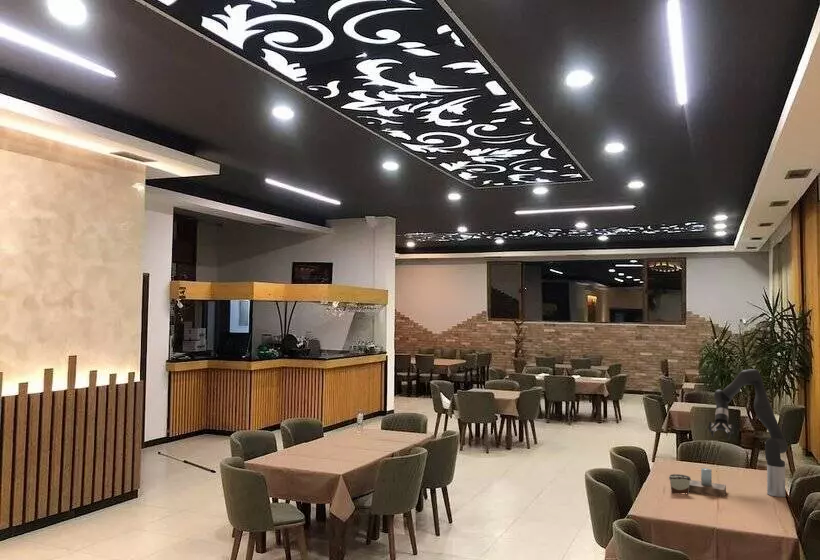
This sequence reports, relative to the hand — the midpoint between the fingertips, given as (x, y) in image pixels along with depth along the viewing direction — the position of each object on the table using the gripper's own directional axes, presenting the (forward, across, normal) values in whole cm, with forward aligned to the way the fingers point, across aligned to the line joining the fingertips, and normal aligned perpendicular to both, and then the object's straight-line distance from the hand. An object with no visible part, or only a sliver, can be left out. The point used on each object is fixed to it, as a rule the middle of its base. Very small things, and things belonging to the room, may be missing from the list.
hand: (720, 437), depth 400 cm
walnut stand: (+38, -6, +3) cm, 38 cm away
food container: (+46, -20, -6) cm, 51 cm away
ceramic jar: (+35, -6, 0) cm, 35 cm away
